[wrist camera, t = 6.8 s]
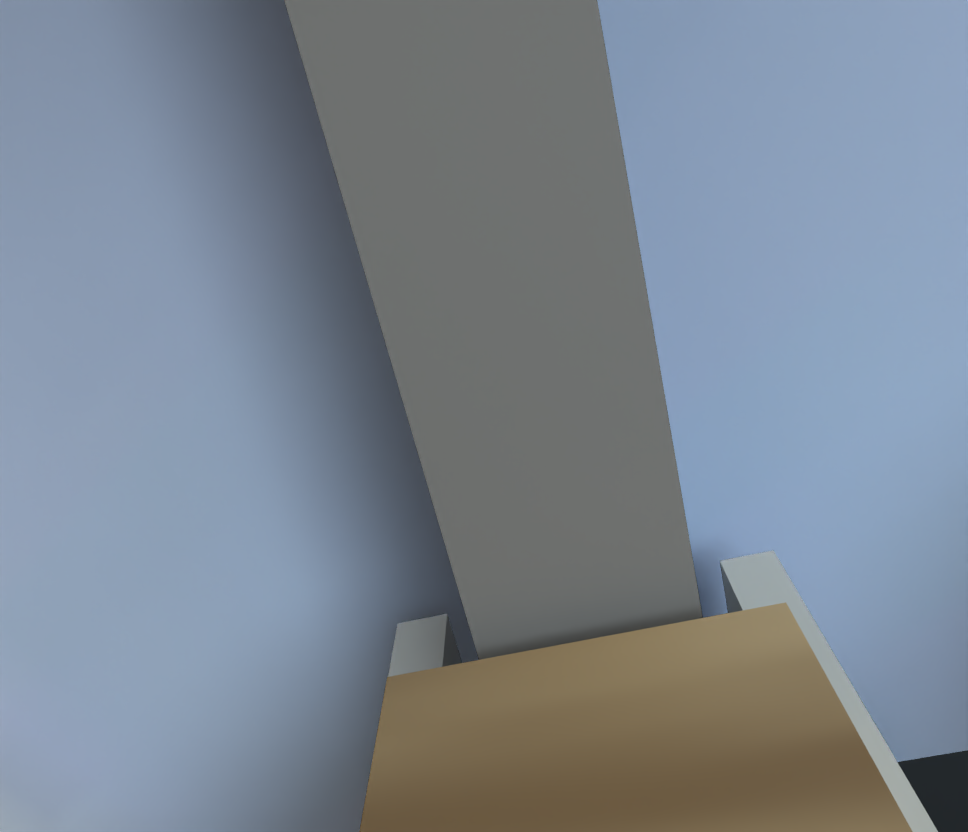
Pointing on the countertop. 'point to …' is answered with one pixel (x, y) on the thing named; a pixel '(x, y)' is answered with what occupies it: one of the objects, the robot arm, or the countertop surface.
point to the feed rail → (510, 304)
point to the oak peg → (630, 738)
